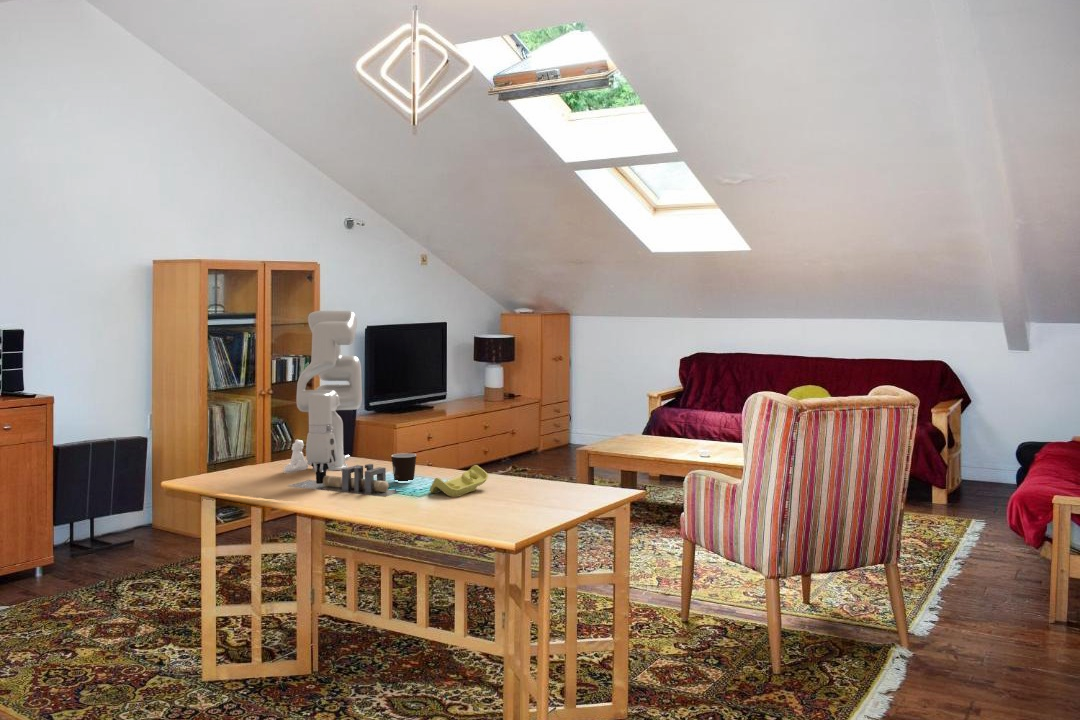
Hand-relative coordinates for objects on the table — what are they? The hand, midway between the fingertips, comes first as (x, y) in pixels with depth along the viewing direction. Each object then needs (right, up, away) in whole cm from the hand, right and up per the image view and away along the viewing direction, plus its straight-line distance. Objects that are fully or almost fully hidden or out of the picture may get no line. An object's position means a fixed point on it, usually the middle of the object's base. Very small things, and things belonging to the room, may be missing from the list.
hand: (321, 482), depth 326 cm
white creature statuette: (-16, 0, +31) cm, 35 cm away
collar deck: (+9, -2, -4) cm, 10 cm away
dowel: (+13, -1, -6) cm, 14 cm away
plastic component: (+48, -3, -5) cm, 48 cm away
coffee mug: (+27, -1, +9) cm, 29 cm away
